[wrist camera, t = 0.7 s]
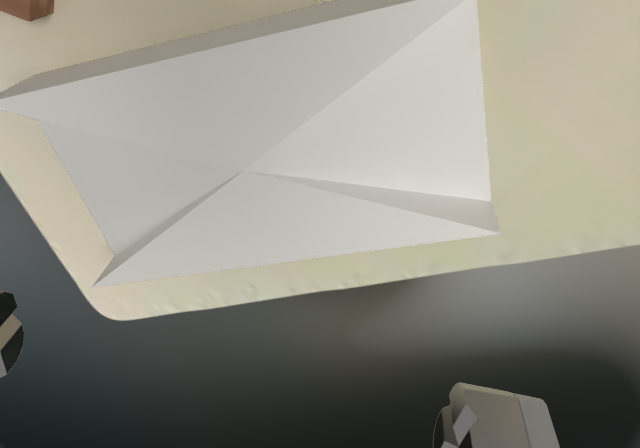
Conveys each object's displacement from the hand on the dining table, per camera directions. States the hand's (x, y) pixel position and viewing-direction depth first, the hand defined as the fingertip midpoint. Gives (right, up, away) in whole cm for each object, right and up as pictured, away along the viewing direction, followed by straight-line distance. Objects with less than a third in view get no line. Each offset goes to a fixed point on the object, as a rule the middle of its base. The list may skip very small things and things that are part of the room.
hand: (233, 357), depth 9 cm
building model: (-4, +13, +45) cm, 47 cm away
